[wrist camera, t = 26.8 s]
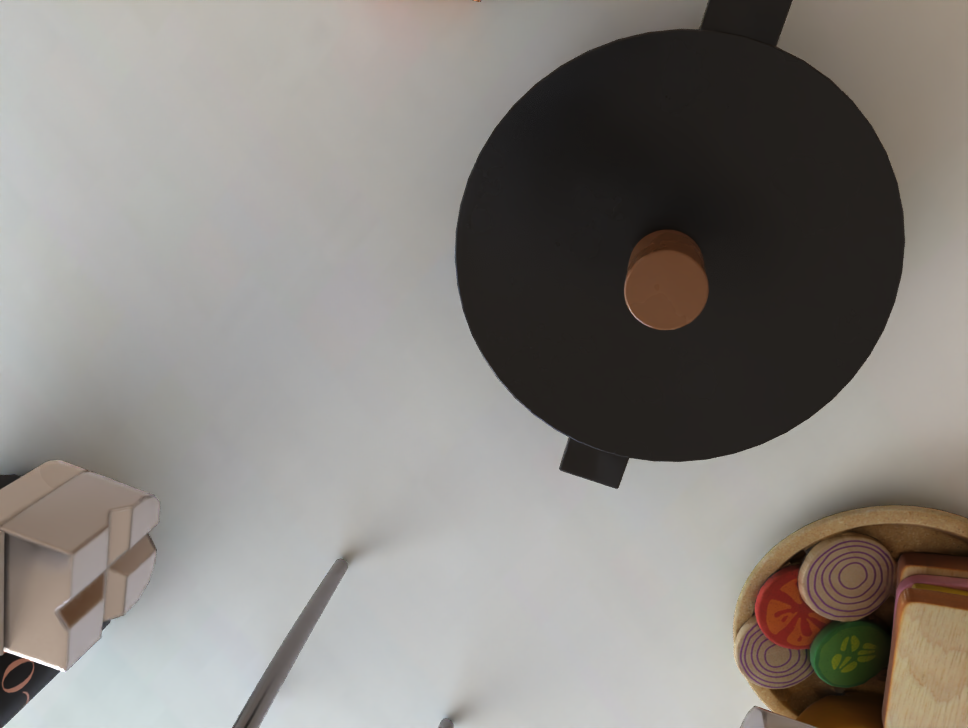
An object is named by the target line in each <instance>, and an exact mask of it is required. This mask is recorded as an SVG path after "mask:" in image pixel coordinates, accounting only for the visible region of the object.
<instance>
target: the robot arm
mask: <svg viewBox="0 0 968 728" xmlns="http://www.w3.org/2000/svg"><path fill="white" fill-rule="evenodd" d="M159 520H160V501H159V500H158V499H157V497H156V496H155V495H153V494H151V493H148V492H145V491H143V490H140V489H137V488H135V487H132V486H129V485H127V484H124V483H121V482H119V481H116V480H114V479H111V478H108V477H106V476H103V475H100V474H98V473H95V472H92V471H91V472H90V471H88V470H86V469H83V468H80V467H78V466H75V465H72V464H69V463H67V462H64V461H61V460H52V461H47V462H45V463H43V464H42V465H40V466H39V467H37V468H35V469H34V470H32V471H30V472H29V473H27V474H25V475H24V476H22V477H20V478H19V479H17V480H15V481H14V482H12V483H10V484H9V485H7V486H5V487H4V488H2V489H0V656H1V655H3V653H4V651H6V652H9V653H12V654H15V655H18V656H20V657H23V658H26V659H29V660H32V661H35V662H38V663H41V664H43V665H46V666H49V667H52V668H55V669H58V670H61V671H63V672H66V671H67V670H68V669H69V668H70V667H71V666H72V665H73V664H74V663H75V662H77V661H78V660H79V659H80V658H81V657H82V656H83V655H84V654H85V653H86V652H87V651H88V650H89V649H90V648H91V647H92V646H93V645H94V644H95V643H96V642H97V641H98V640H99V639H100V638H101V635H102V622H105V621H108V620H111V619H114V618H117V617H120V616H124V615H125V614H126V613H127V612H128V611H129V610H130V609H131V608H132V607H133V605H134V604H135V603H136V602H137V601H138V600H139V598H140V597H141V595H142V593H143V592H144V590H145V588H146V587H147V585H148V583H149V582H150V579H151V576H152V572H153V569H154V566H155V560H156V551H157V549H156V547H155V545H154V543H153V541H152V539H151V538H150V536H149V534H148V532H149V531H150V530H152V529H153V528H154V527H155V526H156V525H157V524H158V523H159ZM740 728H818V727H815V726H812V725H809V724H806V723H803V722H801V721H798V720H795V719H792V718H789V717H786V716H783V715H780V714H777V713H774V712H772V711H769V710H766V709H763V708H760V707H757V706H754V707H753V708H752V709H751V710H750V711H749V712H748V713H747V715H746V717H745V719H744V721H743V722H742V724H741V726H740Z"/></svg>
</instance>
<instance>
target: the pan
mask: <svg viewBox="0 0 968 728" xmlns="http://www.w3.org/2000/svg"><path fill="white" fill-rule="evenodd" d="M792 1H793V0H708V3H707V7H706V10H705V13H704V16H703V19H702V22H701V25H700V29H699V30H715V31H720V32H726V33H731V34H737V35H742V36H746V37H749V38H752V39H755V40H758V41H761V42H764V43H767V44H770V45H773V46H776V45H777V43H778V40H779V37H780V34H781V31H782V29H783V26H784V23H785V20H786V17H787V15H788V12H789V9H790V6H791V3H792ZM628 460H629V458H627V457H623V456H619V455H616V454H612V453H608V452H604V451H601V450H598V449H596V448H593V447H590V446H588V445H585V444H583V443H580V442H578V441H576V440H574V439H572V438H570V437H569V438H568V442H567V445H566V448H565V451H564V454H563V457H562V461H561V464H560V468H559V469H560V470H561V471H563V472H566V473H569V474H573V475H576V476H579V477H582V478H585V479H588V480H591V481H594V482H597V483H600V484H603V485H606V486H610V487H613V488H616V489H618V488H619V485H620V482H621V480H622V477H623V474H624V471H625V468H626V466H627V463H628Z"/></svg>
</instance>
